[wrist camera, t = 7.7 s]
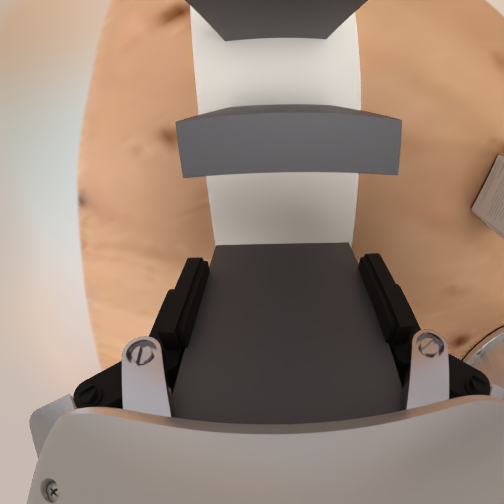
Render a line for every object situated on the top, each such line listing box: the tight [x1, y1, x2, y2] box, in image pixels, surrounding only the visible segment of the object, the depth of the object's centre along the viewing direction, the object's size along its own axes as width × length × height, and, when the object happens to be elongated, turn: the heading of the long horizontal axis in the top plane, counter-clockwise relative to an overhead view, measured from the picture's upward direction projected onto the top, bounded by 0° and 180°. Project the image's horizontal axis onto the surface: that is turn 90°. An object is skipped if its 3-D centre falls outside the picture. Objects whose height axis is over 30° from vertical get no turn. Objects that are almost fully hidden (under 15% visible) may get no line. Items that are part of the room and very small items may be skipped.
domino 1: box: [185, 0, 367, 41], centre depth 8 cm, size 2×6×10 cm, turn 94°
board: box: [190, 5, 361, 247], centre depth 18 cm, size 32×10×1 cm, turn 4°
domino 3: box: [172, 242, 403, 425], centre depth 8 cm, size 2×6×10 cm, turn 94°
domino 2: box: [176, 104, 402, 178], centre depth 11 cm, size 2×6×10 cm, turn 94°
